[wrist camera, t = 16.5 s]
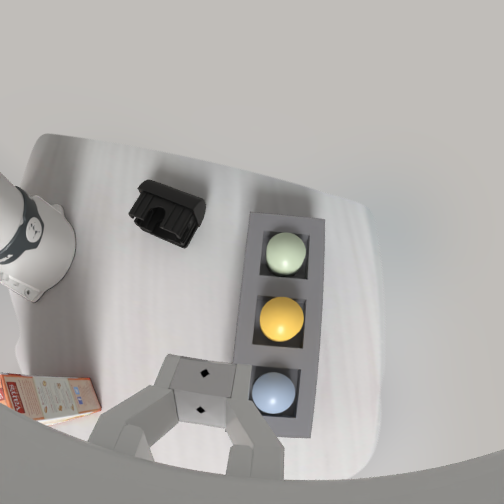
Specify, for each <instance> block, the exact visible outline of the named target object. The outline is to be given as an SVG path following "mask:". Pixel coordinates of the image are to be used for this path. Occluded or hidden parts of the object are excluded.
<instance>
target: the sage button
mask: <svg viewBox="0 0 504 504" xmlns="http://www.w3.org/2000/svg"><path fill="white" fill-rule="evenodd" d="M305 255H306V248H305V245H304V243H303V241H302V240H301V239H300V238H299V237H298V236H296V235H294V234H292V233H279V234H277V235H275V236H274V237H272V238H271V240H270V241H269V243H268V245H267V251H266V265H267V267H268V269H269V270H270V272H271V273H273V274H274V275H276V276H278V277H290V276H293V275H294V274H296V273H297V272H298V271H299V269H300V267H301V265H302V263H303V261H304V258H305Z"/></svg>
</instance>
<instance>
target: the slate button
mask: <svg viewBox="0 0 504 504" xmlns="http://www.w3.org/2000/svg"><path fill="white" fill-rule="evenodd" d="M252 397H253V400H254V403H255V404H256V406H257V407H258V408H259V409H260V410H262V411H264V412H266V413H271V414H275V413H280V412H283V411H285V410H286V409H288V408H289V407H290V405H291V404H292V403H293V401H294V398H295V388H294V385H293V383H292V381H291V380H290V379H289V378H288V377H286V376H285V375H283V374H280V373H277V372H268V373H265V374H263V375H261V376H260V377H259V378H257V380H256V381H255V383H254V385H253V389H252Z"/></svg>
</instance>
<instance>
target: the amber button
mask: <svg viewBox="0 0 504 504" xmlns="http://www.w3.org/2000/svg"><path fill="white" fill-rule="evenodd" d="M303 321H304V315H303V311H302V309H301V307H300V306H299V304H298V303H297V302H295V301H294V300H292V299H290V298H287V297H276V298H273V299H271V300H270V301H268V302H267V303H266V304H265V305H264V307H263V308H262V311H261V314H260V328H261V331H262V333H263V334H264V335H265V336H266V337H267V338H268V339H270V340H272V341H275V342H284V341H287V340H289V339H291V338H292V337H294V336H295V335H296V334H297V333H298V332H299V331H300V329H301V328H302V325H303Z"/></svg>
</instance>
